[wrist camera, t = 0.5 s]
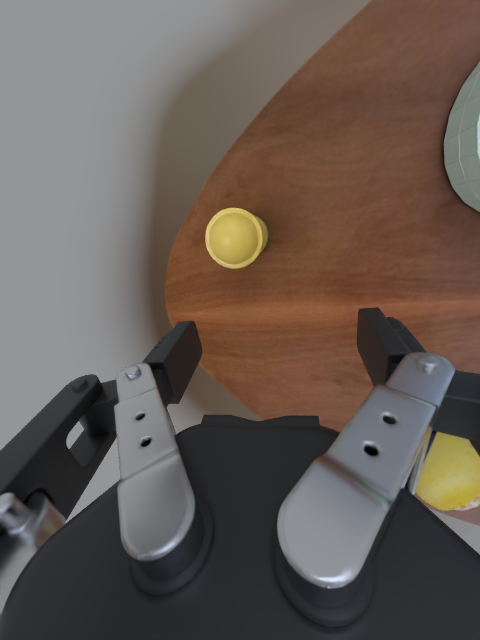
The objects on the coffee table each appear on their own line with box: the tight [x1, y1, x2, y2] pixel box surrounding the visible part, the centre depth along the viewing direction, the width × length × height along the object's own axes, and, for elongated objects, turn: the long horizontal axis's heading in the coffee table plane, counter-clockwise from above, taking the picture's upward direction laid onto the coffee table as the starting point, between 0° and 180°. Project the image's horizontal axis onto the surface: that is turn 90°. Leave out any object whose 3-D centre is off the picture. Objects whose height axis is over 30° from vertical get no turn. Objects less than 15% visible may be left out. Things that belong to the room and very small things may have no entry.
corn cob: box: [205, 208, 269, 269], centre depth 25 cm, size 5×5×14 cm
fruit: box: [415, 432, 480, 511], centre depth 33 cm, size 10×11×10 cm
